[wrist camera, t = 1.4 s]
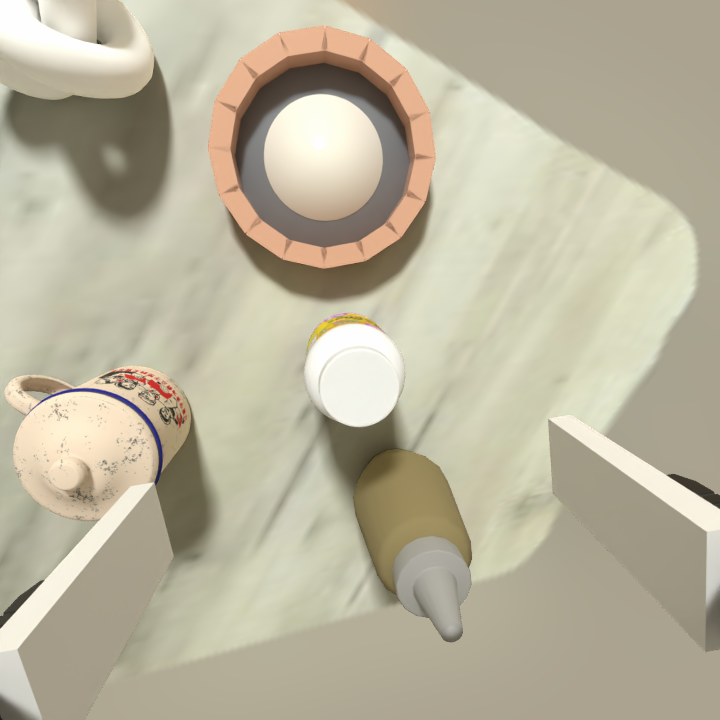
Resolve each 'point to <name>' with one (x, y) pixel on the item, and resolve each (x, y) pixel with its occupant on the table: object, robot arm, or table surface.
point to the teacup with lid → (96, 437)
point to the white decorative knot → (73, 49)
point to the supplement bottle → (353, 370)
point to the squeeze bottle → (416, 536)
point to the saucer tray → (321, 147)
